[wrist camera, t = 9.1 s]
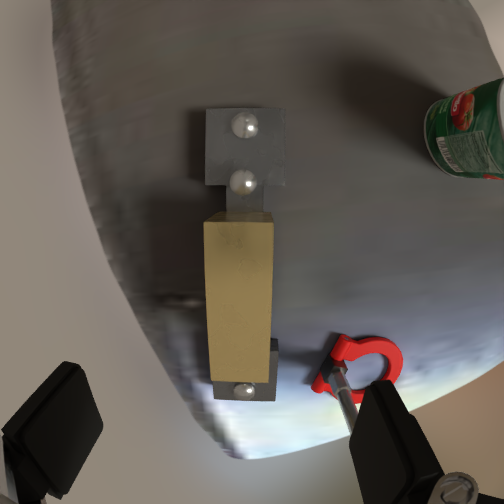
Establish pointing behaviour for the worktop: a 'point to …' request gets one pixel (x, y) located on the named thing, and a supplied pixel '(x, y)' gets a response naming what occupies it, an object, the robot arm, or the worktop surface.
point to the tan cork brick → (239, 294)
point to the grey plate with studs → (246, 194)
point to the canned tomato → (468, 132)
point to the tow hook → (336, 369)
